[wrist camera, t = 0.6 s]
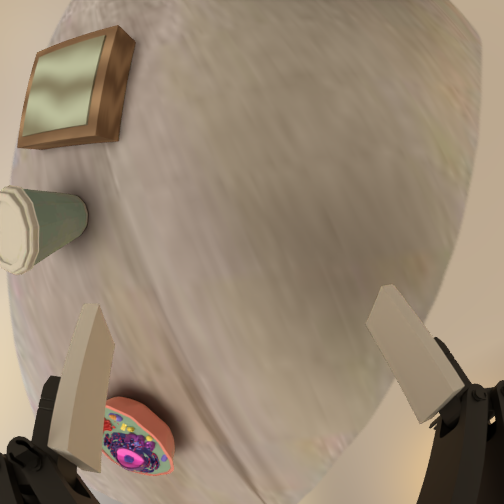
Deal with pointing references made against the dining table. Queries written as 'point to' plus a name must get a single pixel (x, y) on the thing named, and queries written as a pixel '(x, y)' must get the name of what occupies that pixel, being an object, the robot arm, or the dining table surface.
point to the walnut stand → (77, 91)
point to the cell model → (137, 438)
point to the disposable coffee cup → (36, 225)
